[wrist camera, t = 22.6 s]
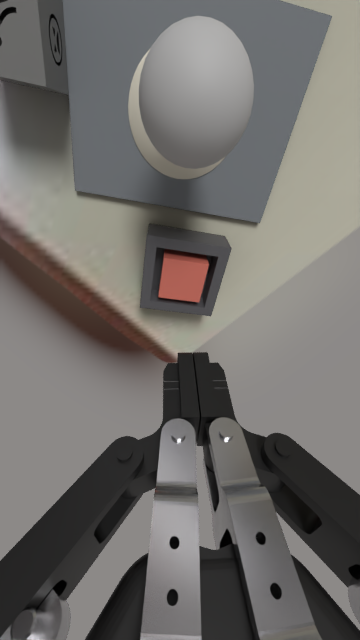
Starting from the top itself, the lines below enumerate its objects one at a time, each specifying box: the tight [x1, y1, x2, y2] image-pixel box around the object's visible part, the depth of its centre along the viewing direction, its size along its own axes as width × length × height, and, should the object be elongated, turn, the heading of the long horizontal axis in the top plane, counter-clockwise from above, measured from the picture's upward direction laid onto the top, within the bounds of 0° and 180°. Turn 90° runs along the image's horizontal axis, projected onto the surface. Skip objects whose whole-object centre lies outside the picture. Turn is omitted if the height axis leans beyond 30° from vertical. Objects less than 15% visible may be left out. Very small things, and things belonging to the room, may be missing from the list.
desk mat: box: [63, 0, 332, 223], centre depth 21 cm, size 18×14×1 cm
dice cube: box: [0, 0, 69, 95], centre depth 16 cm, size 5×5×5 cm
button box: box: [140, 224, 231, 316], centre depth 27 cm, size 8×8×4 cm
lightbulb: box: [139, 16, 254, 169], centre depth 16 cm, size 6×6×11 cm
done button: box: [158, 248, 209, 302], centre depth 27 cm, size 4×4×2 cm
